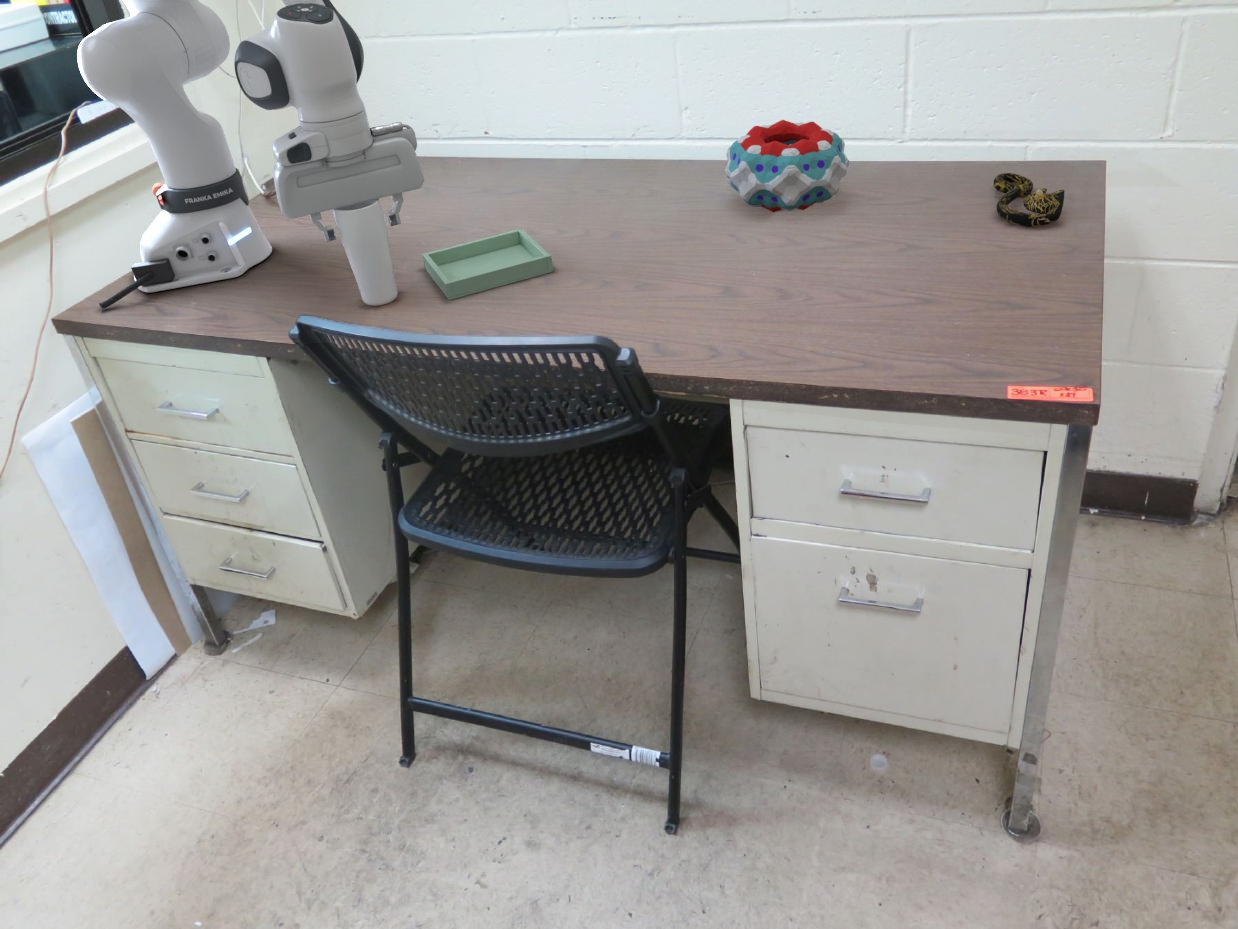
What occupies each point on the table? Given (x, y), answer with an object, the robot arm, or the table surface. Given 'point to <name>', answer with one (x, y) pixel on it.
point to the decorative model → (786, 165)
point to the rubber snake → (1027, 201)
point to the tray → (487, 263)
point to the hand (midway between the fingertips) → (363, 231)
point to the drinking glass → (368, 250)
